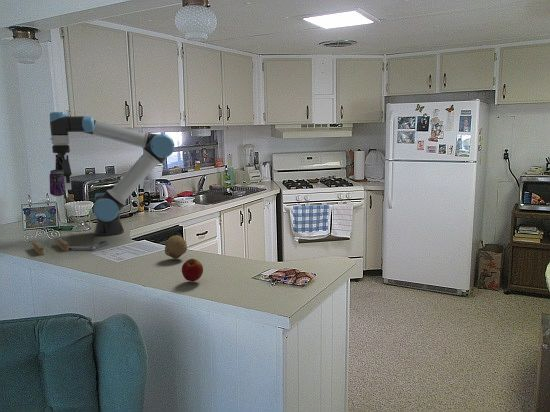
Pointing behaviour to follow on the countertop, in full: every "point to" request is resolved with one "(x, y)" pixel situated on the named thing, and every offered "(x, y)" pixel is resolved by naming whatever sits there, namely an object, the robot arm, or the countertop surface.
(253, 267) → the countertop surface
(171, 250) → the natural sponge
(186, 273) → the apple
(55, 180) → the beverage can
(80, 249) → the hinge
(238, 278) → the countertop surface
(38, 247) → the guide channel
